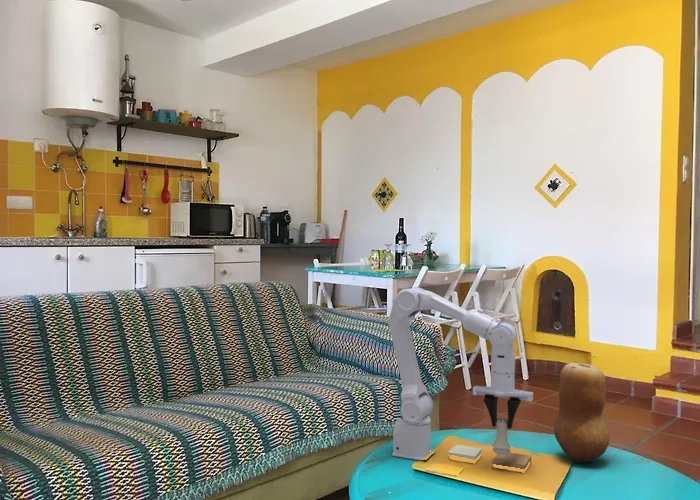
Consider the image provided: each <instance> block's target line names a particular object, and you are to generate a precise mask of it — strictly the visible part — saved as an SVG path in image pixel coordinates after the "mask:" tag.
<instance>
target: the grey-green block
mask: <svg viewBox="0 0 700 500" xmlns="http://www.w3.org/2000/svg"><path fill="white" fill-rule="evenodd" d="M481 452H482V453H483V448H479V447H475V446H468V445H461V444H455V445H454V446H453V447H452V448H450V450H449V451H448V452H447V453H448V454H449V455H455V456H459V457H465V458H468V459H473V460H475V459H476V458H477V457H478V456H479V455H480V454H481Z"/></svg>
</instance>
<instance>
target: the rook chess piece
mask: <svg viewBox="0 0 700 500" xmlns="http://www.w3.org/2000/svg"><path fill="white" fill-rule="evenodd" d="M495 429H496V435H495V436H496V438H495V440H494V443H493V444H492V447H493V448H492V449H491V450H492V451H493V453H494V454H496V455H497V454H509V453H510V452H511V445H510V444H509V443H510V442H509V441H508V431H509V429H508V419H506V418H502V417H501V418H497V421H496V428H495ZM511 453H512V452H511Z"/></svg>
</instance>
